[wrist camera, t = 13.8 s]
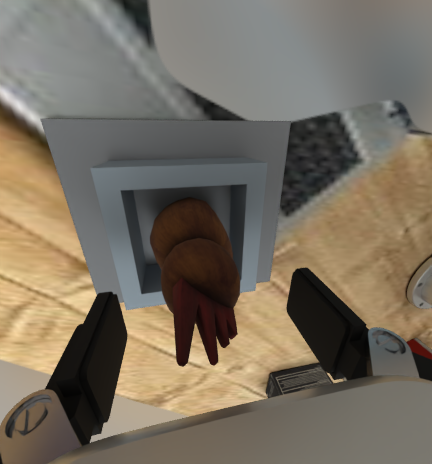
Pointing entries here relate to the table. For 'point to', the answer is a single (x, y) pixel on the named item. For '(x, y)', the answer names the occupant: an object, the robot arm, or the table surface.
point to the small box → (297, 380)
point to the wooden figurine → (196, 275)
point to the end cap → (167, 192)
